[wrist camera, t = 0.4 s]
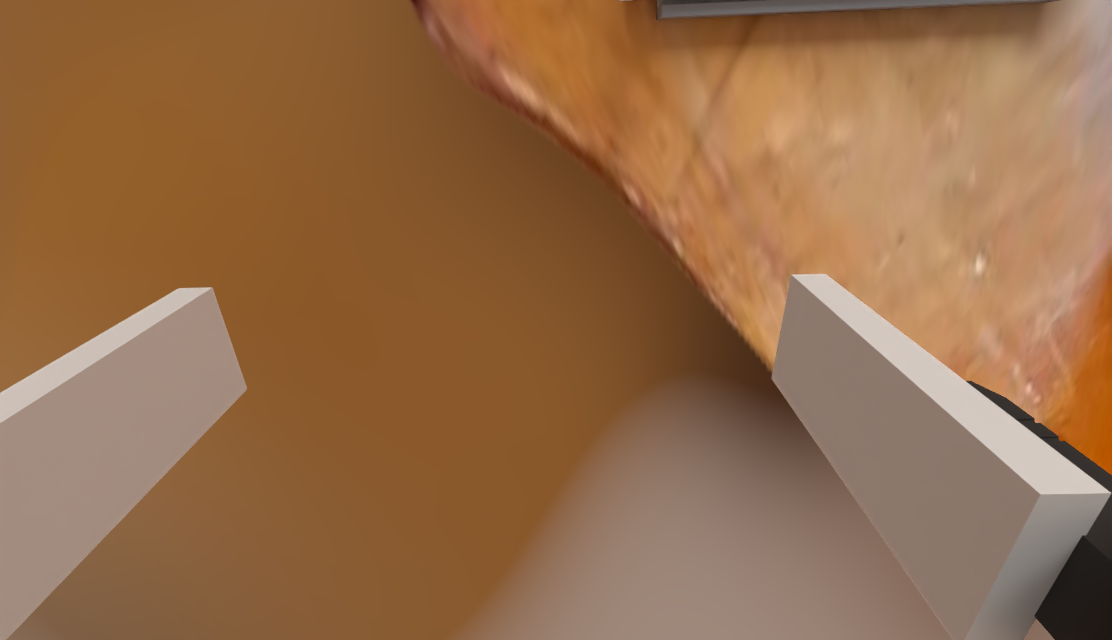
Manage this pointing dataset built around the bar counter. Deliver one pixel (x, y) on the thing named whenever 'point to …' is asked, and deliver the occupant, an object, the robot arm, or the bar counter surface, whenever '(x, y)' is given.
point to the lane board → (800, 6)
